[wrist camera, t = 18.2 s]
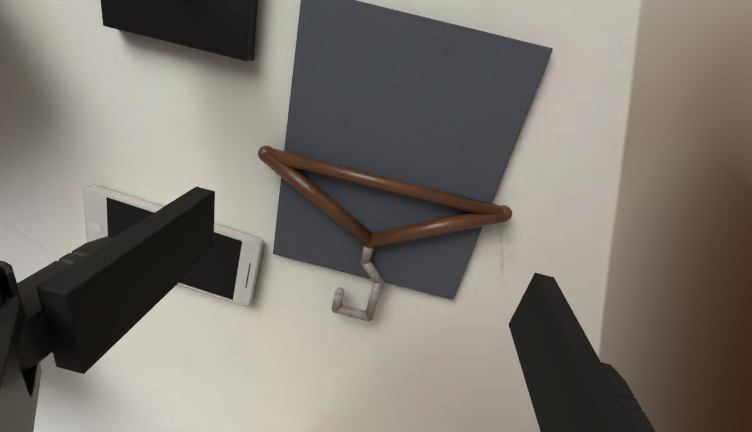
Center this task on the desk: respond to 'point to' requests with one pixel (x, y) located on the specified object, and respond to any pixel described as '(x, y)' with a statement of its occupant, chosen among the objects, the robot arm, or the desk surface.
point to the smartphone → (212, 274)
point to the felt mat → (399, 132)
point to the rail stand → (189, 23)
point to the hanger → (476, 217)
